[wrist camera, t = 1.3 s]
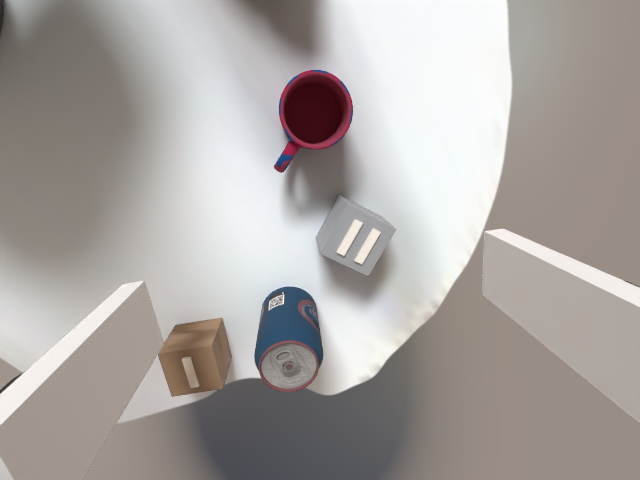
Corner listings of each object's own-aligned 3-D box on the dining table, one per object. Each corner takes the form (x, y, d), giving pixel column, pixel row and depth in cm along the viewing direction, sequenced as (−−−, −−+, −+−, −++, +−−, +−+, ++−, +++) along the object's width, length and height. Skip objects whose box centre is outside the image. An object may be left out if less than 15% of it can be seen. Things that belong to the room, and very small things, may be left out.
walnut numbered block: (187, 363, 44) (170, 398, 38) (175, 324, 42) (156, 355, 36) (231, 356, 44) (222, 390, 38) (222, 317, 42) (211, 347, 36)
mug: (353, 113, 36) (367, 107, 30) (296, 181, 38) (297, 191, 32) (308, 68, 35) (312, 52, 28) (249, 142, 36) (240, 143, 30)
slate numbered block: (315, 237, 40) (320, 254, 34) (339, 194, 39) (348, 204, 33) (357, 257, 42) (368, 277, 36) (381, 216, 40) (397, 230, 34)
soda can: (324, 317, 44) (336, 380, 32) (276, 337, 44) (272, 407, 33) (302, 273, 41) (307, 325, 30) (253, 295, 42) (239, 354, 30)
